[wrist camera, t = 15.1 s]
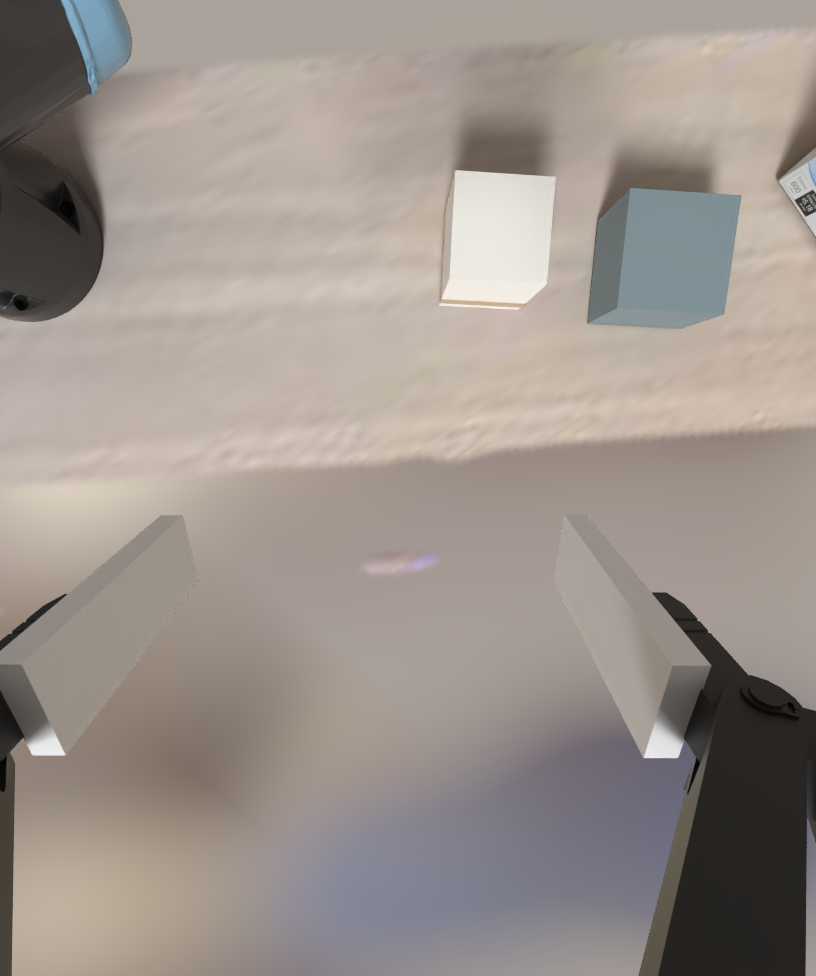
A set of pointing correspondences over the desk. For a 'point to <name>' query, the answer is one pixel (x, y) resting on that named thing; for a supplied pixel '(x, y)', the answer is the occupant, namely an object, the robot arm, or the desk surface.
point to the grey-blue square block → (663, 258)
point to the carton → (496, 239)
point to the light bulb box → (803, 188)
